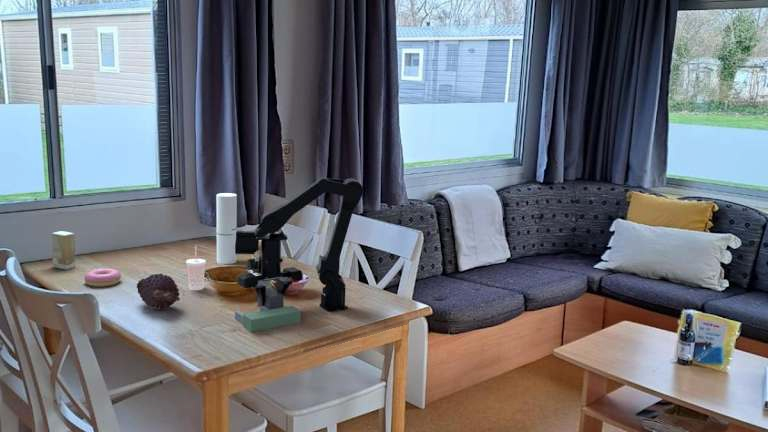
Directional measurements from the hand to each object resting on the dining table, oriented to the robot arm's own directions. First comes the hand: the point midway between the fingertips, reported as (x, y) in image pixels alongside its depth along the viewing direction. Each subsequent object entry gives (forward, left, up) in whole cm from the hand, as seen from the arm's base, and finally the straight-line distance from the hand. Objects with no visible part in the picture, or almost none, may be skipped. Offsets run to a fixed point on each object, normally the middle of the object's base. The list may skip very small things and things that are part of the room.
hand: (270, 305), depth 199 cm
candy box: (-7, -22, -1) cm, 23 cm away
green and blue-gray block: (+6, +9, -1) cm, 11 cm away
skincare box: (+43, -72, -1) cm, 84 cm away
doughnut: (+36, -48, -2) cm, 60 cm away
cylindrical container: (-9, -55, -1) cm, 56 cm away
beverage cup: (+12, -29, -1) cm, 31 cm away
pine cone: (+28, -16, -1) cm, 32 cm away
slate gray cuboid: (0, 0, -1) cm, 1 cm away
